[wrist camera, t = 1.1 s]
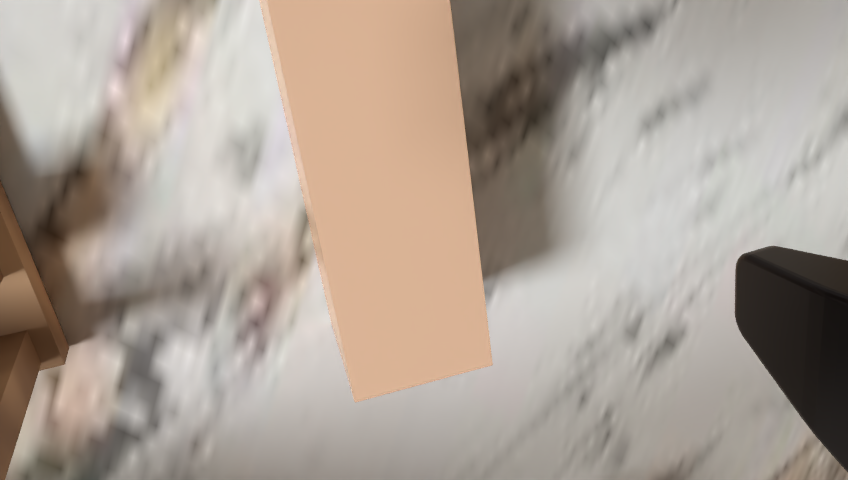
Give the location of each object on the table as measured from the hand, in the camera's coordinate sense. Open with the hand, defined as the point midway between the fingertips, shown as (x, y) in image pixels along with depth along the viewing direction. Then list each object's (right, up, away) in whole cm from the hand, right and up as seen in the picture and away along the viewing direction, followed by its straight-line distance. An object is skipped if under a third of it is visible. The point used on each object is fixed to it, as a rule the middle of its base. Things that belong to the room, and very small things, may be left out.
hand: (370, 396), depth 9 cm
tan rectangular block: (-1, +4, +12) cm, 13 cm away
